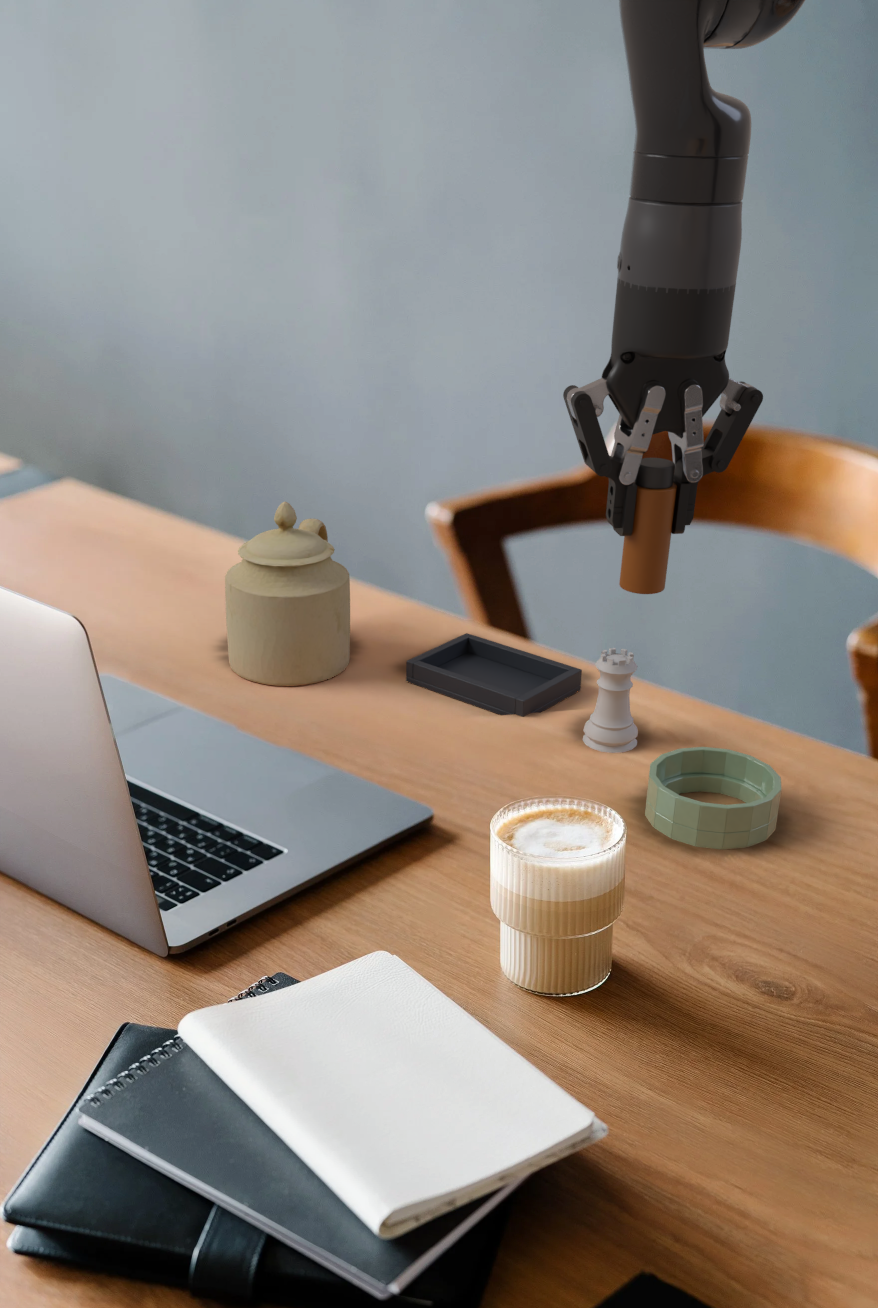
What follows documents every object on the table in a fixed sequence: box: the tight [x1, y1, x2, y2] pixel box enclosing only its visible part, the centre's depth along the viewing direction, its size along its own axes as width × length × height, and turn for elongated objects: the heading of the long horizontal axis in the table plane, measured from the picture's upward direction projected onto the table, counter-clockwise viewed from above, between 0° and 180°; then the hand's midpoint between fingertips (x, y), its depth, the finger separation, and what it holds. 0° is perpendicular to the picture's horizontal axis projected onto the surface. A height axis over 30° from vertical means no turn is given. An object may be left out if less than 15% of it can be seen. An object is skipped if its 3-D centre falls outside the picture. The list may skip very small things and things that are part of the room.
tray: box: [405, 632, 583, 718], centre depth 121 cm, size 13×9×2 cm
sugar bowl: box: [224, 501, 351, 687], centre depth 124 cm, size 15×11×15 cm
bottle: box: [618, 457, 677, 595], centre depth 97 cm, size 3×3×9 cm
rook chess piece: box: [582, 647, 639, 754], centre depth 109 cm, size 4×4×8 cm
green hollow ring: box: [644, 746, 783, 851], centre depth 98 cm, size 9×9×4 cm
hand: (648, 530), depth 97 cm, fingers closed on bottle, 3 cm apart
